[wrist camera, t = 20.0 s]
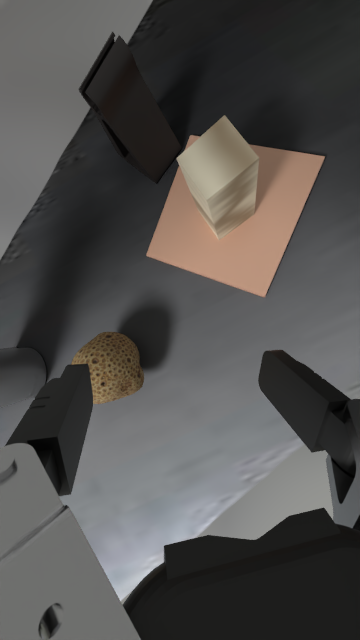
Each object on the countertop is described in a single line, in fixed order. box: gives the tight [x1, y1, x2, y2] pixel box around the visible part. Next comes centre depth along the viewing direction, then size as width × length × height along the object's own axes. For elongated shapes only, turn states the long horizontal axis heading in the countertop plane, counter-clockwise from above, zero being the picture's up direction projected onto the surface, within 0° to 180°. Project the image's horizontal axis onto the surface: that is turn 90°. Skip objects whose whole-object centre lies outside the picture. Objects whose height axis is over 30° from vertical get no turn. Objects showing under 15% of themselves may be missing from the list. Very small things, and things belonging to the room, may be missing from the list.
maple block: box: [177, 115, 259, 240], centre depth 24 cm, size 5×5×10 cm
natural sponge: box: [71, 332, 144, 404], centre depth 29 cm, size 9×9×10 cm
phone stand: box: [79, 32, 182, 184], centre depth 27 cm, size 9×6×12 cm, turn 48°
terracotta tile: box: [146, 135, 325, 297], centre depth 29 cm, size 18×18×1 cm
